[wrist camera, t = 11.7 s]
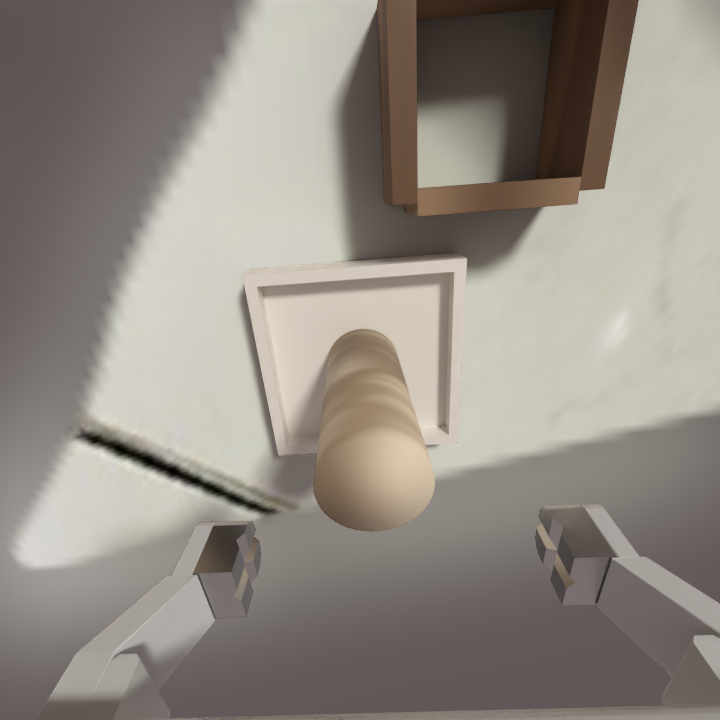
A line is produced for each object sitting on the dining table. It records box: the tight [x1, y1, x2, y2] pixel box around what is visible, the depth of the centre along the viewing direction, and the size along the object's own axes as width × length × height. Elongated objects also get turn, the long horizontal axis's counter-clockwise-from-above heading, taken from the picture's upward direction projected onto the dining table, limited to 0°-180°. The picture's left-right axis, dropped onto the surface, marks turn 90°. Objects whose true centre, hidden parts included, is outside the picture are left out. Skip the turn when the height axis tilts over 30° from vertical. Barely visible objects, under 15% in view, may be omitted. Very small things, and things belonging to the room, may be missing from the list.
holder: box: [377, 0, 639, 216], centre depth 15 cm, size 8×8×4 cm
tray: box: [242, 253, 467, 456], centre depth 21 cm, size 11×11×2 cm
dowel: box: [314, 329, 435, 531], centre depth 17 cm, size 4×4×10 cm
